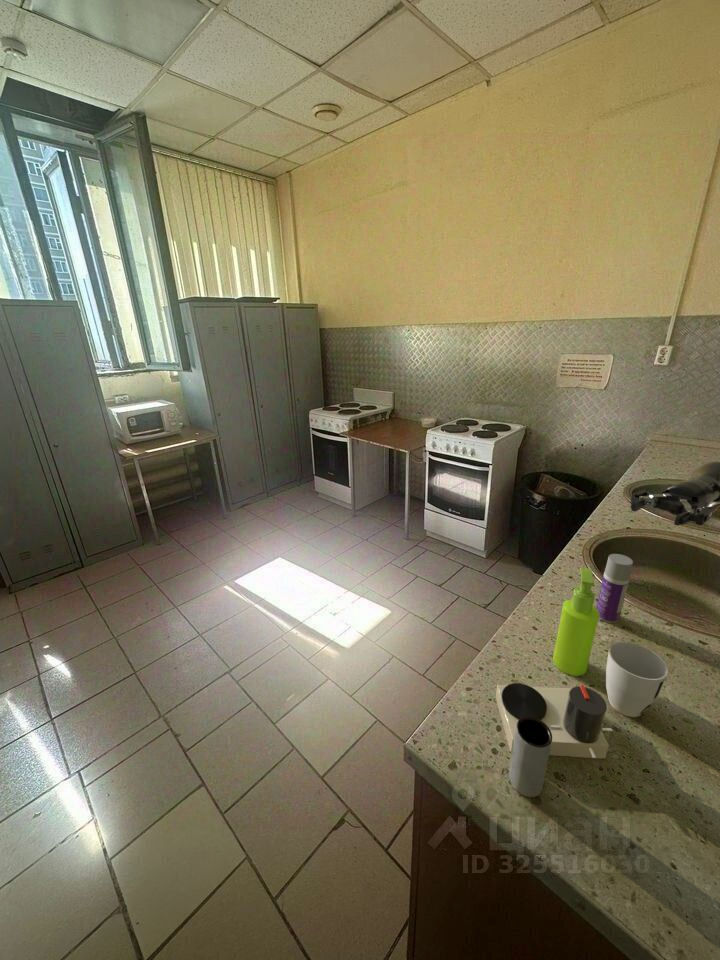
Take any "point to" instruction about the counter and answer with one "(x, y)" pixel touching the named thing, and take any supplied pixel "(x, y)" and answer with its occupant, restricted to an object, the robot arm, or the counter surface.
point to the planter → (530, 756)
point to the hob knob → (584, 714)
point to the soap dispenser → (577, 628)
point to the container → (614, 587)
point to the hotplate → (523, 701)
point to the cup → (633, 677)
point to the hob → (554, 726)
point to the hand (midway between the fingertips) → (654, 513)
